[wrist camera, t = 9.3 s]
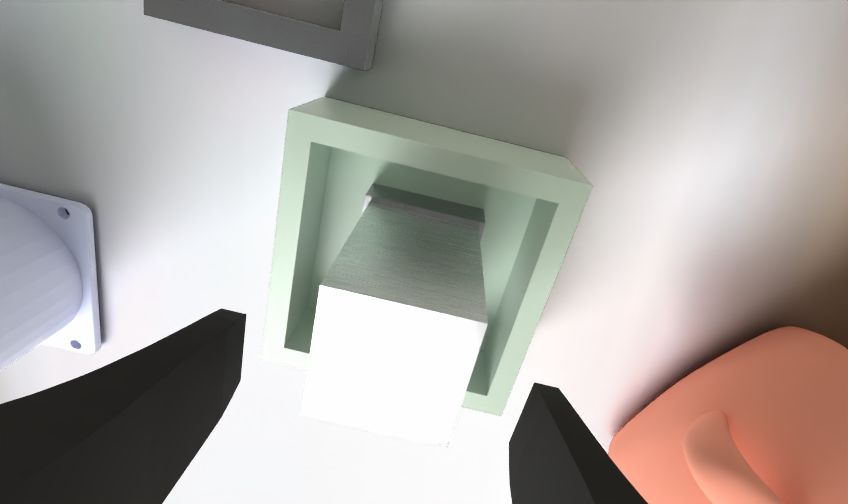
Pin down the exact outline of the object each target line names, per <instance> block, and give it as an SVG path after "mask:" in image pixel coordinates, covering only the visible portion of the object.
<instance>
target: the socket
mask: <svg viewBox="0 0 848 504" xmlns="http://www.w3.org/2000/svg"><path fill="white" fill-rule="evenodd" d="M382 6H383V0H344V5H343V12H342V19H341V26H340V30H337V29H333V28H329V27H325V26H321V25H317V24H313V23H309V22H305V21H301V20H298V19H294V18H290V17H286V16H282V15H278V14H274V13H270V12H266V11H262V10H259V9H255V8H251V7H247V6H243V5H239V4H235V3H231V2H227V1H224V0H144V15H148V16H152V17H156V18H159V19H163V20H167V21H171V22H175V23H179V24H183V25H187V26H191V27H195V28H199V29H203V30H207V31H211V32H214V33H218V34H222V35H226V36H230V37H234V38H238V39H242V40H246V41H250V42H254V43H258V44H262V45H266V46H269V47H273V48H277V49H281V50H285V51H289V52H293V53H297V54H301V55H305V56H309V57H313V58H317V59H321V60H324V61H328V62H332V63H336V64H340V65H344V66H348V67H352V68H356V69H360V70H368V69H372V63H373V58H374V52H375V46H376V40H377V35H378V29H379V23H380V17H381V12H382Z"/></svg>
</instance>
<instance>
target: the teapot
mask: <svg viewBox="0 0 848 504" xmlns="http://www.w3.org/2000/svg"><path fill="white" fill-rule="evenodd" d="M608 455H609V457H610V458H611V459H612V461H613V462H614V463H615V464H616V466H617V467H618V468H619V469H620V471H621V472H622V473H623V474H624V476H625V477H626V478H627V479H628V480H629V482H630V483H631V484H632V485H633V486H634V488H635V489H636V490H637V491H638V492H639V494H640V495H641V496H642V497H643V498H644V499H645V501H646V502H647V503H648V504H848V349H847V348H845V347H844V346H842V345H841V344H839V343H837V342H835V341H833V340H831V339H829V338H827V337H825V336H823V335H821V334H818V333H815V332H812V331H809V330H806V329H803V328H799V327H795V326H786V327H781V328H777V329H774V330H771V331H769V332H766V333H764V334H762V335H760V336H757V337H755V338H753V339H751V340H749V341H747V342H745V343H743V344H742V345H740V346H738V347H736V348H734V349H732V350H731V351H729V352H727V353H725V354H723V355H721V356H720V357H718V358H716V359H714V360H713V361H711V362H709V363H707V364H706V365H704V366H702V367H701V368H699V369H697V370H695V371H694V372H692V373H691V374H689V375H688V376H686V377H685V378H683V379H682V380H680V381H679V382H677V383H676V384H675V385H673V386H672V387H670V388H669V389H668V390H666V391H665V392H664V393H663V394H661V395H660V396H659V397H657V398H656V399H655V400H654V401H653V402H651V403H650V404H649V405H648V406H647V407H645V408H644V409H643V410H642V411H641V412H639V413H638V414H637V415H636V416H635V417H634V418H633V419H631V420H630V421H629V422H628V423H627V424H626V425H625V426H624V427H623V428H622V429H621V430H620V431H619V432H618V433H617V434H616V435H615V437H614V438H613V439H612V441H611V444H610V446H609V453H608Z"/></svg>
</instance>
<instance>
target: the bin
mask: <svg viewBox="0 0 848 504" xmlns="http://www.w3.org/2000/svg"><path fill="white" fill-rule="evenodd" d="M373 183H375V184H379V185H383V186H388V187H392V188H396V189H400V190H405V191H409V192H413V193H417V194H422V195H426V196H430V197H434V198H439V199H443V200H447V201H452V202H456V203H460V204H464V205H469V206H473V207H477V208H481V209H484V214H485V222H486V224H485V227H484V231H483V234H482V238H481V241H480V245H481V256H482V266H483V277H484V288H485V298H486V309H487V319H488V325H487V328H486V331H485V334H484V337H483V340H482V344H481V347H480V350H479V353H478V356H477V359H476V362H475V365H474V368H473V371H472V374H471V377H470V380H469V383H468V386H467V389H466V392H465V395H464V399H463V402H462V405H461V407H464V408H468V409H472V410H477V411H481V412H485V413H489V414H493V415H498V416H501V415H502V413H503V410H504V408H505V405H506V403H507V400H508V398H509V395H510V393H511V390H512V388H513V385H514V383H515V380H516V378H517V375H518V373H519V370H520V368H521V365H522V363H523V360H524V357H525V355H526V352H527V350H528V347H529V345H530V342H531V340H532V337H533V335H534V332H535V330H536V327H537V325H538V322H539V320H540V317H541V315H542V312H543V310H544V307H545V305H546V302H547V300H548V297H549V295H550V292H551V290H552V287H553V285H554V282H555V280H556V277H557V275H558V272H559V269H560V267H561V264H562V262H563V259H564V257H565V254H566V252H567V249H568V247H569V244H570V242H571V239H572V237H573V234H574V232H575V229H576V227H577V224H578V222H579V219H580V217H581V214H582V212H583V209H584V207H585V204H586V202H587V199H588V197H589V194H590V192H591V189H592V184H591V183H590V182H589V181H588V180H587V179H586V178H585V177H584V176H583V175H582V174H581V173H580V172H579V171H578V170H577V169H576V167H575V166H574V165H573V164H572V163H571V162H570V161H569V160H568V159H567V158H565V157H561V156H557V155H554V154H550V153H546V152H542V151H538V150H534V149H530V148H526V147H522V146H518V145H514V144H510V143H506V142H502V141H498V140H494V139H490V138H486V137H482V136H478V135H474V134H470V133H466V132H462V131H458V130H455V129H451V128H447V127H443V126H439V125H435V124H431V123H427V122H423V121H419V120H415V119H411V118H407V117H403V116H399V115H395V114H391V113H387V112H383V111H379V110H375V109H371V108H367V107H363V106H359V105H356V104H352V103H348V102H344V101H340V100H336V99H332V98H328V97H321V98H319V99H316V100H313V101H310V102H308V103H305V104H302V105H299V106H297V107H294V108H291V109H289V110H288V119H287V129H286V138H285V147H284V156H283V165H282V175H281V184H280V193H279V202H278V211H277V221H276V230H275V239H274V248H273V257H272V267H271V276H270V285H269V294H268V303H267V313H266V322H265V331H264V340H263V349H262V359H261V360H265V361H270V362H274V363H278V364H282V365H286V366H291V367H295V368H299V369H303V370H308V365H309V358H310V351H311V344H312V337H313V330H314V323H315V316H316V309H317V302H318V295H319V288H320V284H321V283H322V281H323V279H324V278H325V276H326V274H327V273H328V271H329V269H330V268H331V266H332V264H333V263H334V261H335V259H336V258H337V256H338V254H339V253H340V251H341V249H342V247H343V246H344V244H345V242H346V241H347V239H348V237H349V236H350V234H351V232H352V231H353V229H354V227H355V226H356V224H357V222H358V221H359V219H360V217H361V216H362V210H363V205H364V199H365V195H366V193H367V192H368V190H369V188H370V187H371V185H372V184H373Z"/></svg>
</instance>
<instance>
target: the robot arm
mask: <svg viewBox="0 0 848 504" xmlns="http://www.w3.org/2000/svg"><path fill="white" fill-rule="evenodd" d="M65 209H67V210H68V211H69V214H70V215H68V214H67V213H66V211H65ZM245 322H246V314H242V313H238V312H234V311H230V310H225V309H220V310H218V311H215V312H213V313H211V314H210V315H208V316H206V317H204V318H202V319H200V320H198V321H196V322H194V323H192V324H191V325H189V326H187V327H185V328H183V329H181V330H179V331H177V332H175V333H173V334H171V335H169V336H167V337H165V338H163V339H161V340H159V341H157V342H155V343H153V344H152V345H150V346H148V347H146V348H143V349H141V350H139V351H137V352H135V353H132V354H130V355H128V356H126V357H124V358H121V359H119V360H117V361H115V362H113V363H111V364H108V365H106V366H104V367H102V368H100V369H97V370H95V371H92V372H90V373H88V374H85V375H83V376H80V377H78V378H75V379H73V380H70V381H67V382H65V383H62V384H59V385H56V386H54V387H51V388H48V389H46V390H43V391H40V392H37V393H34V394H31V395H28V396H25V397H22V398H19V399H16V400H12V401H9V402H6V403H3V404H0V504H162V503H163V502H164V500H165V499H166V497H167V496H168V494H169V493H170V491H171V490H172V489H173V487H174V486H175V484H176V483H177V481H178V480H179V478H180V477H181V476H182V474H183V473H184V471H185V470H186V468H187V467H188V465H189V464H190V462H191V461H192V460H193V458H194V457H195V455H196V454H197V452H198V451H199V449H200V448H201V447H202V445H203V444H204V442H205V441H206V439H207V438H208V436H209V435H210V433H211V432H212V430H213V429H214V427H215V426H216V425H217V423H218V422H219V420H220V419H221V417H222V415H223V413H224V411H225V409H226V408H227V406H228V404H229V402H230V400H231V398H232V396H233V394H234V392H235V390H236V388H237V386H238V384H239V382H240V379H241V368H242V356H243V345H244V334H245ZM40 344H45V345H49V346H53V347H57V348H62V349H66V350H70V351H74V352H79V353H83V354H87V355H92V354H95V353H96V352H97V351H98V350H99V349H100V348H101V335H100V320H99V305H98V290H97V275H96V260H95V245H94V230H93V216H92V212H91V210H90V209H89V208H88V207H87V206H86V205H85V204H82V203H80V202H76V201H72V200H67V199H63V198H59V197H55V196H51V195H47V194H43V193H39V192H34V191H30V190H26V189H22V188H18V187H14V186H10V185H6V184H2V183H0V372H1V371H3V370H4V369H6V368H7V367H8V366H10V365H11V364H13V363H14V362H15V361H17V360H18V359H20V358H21V357H23V356H24V355H25V354H27V353H28V352H30V351H31V350H32V349H34V348H35V347H37V346H38V345H40ZM509 476H510V490H511V497H512V504H648V503H647V502H646V501H645V499H644V498H643V497H642V496H641V495H640V494H639V492H638V491H637V490H636V489H635V488H634V486H633V485H632V484H631V483H630V482H629V480H628V479H627V478H626V477H625V476H624V474H623V473H622V472H621V471H620V469H619V468H618V467H617V466H616V464H615V463H614V462H613V461H612V459H611V458H610V457H609V455H608V454H607V453H606V452H605V450H604V449H603V448H602V446H601V445H600V444H599V442H598V441H597V440H596V438H595V437H594V436H593V434H592V433H591V432H590V430H589V429H588V427H587V426H586V425H585V423H584V422H583V421H582V419H581V418H580V417H579V415H578V414H577V412H576V411H575V410H574V408H573V407H572V405H571V404H570V403H569V401H568V400H567V399H566V397H565V396H564V395H563V393H562V392H561V391H560V390H559V388H556V387H551V386H547V385H543V384H539V383H534V384H533V387H532V389H531V392H530V394H529V396H528V399H527V401H526V404H525V406H524V408H523V411H522V413H521V416H520V418H519V420H518V423H517V425H516V427H515V430H514V432H513V435H512V437H511V439H510V442H509Z"/></svg>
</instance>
